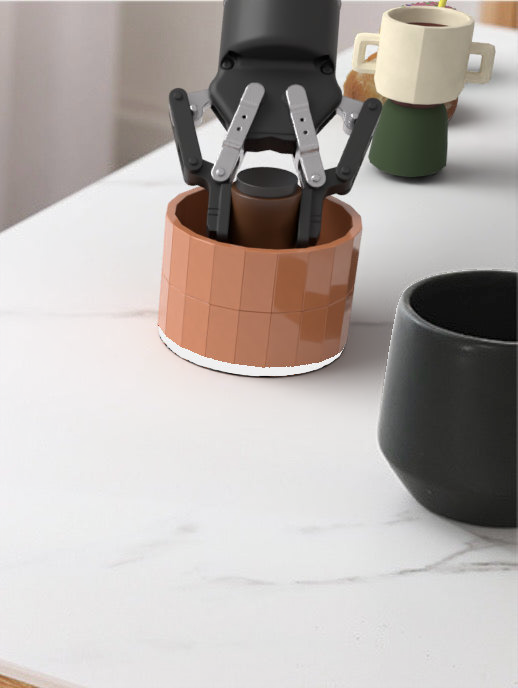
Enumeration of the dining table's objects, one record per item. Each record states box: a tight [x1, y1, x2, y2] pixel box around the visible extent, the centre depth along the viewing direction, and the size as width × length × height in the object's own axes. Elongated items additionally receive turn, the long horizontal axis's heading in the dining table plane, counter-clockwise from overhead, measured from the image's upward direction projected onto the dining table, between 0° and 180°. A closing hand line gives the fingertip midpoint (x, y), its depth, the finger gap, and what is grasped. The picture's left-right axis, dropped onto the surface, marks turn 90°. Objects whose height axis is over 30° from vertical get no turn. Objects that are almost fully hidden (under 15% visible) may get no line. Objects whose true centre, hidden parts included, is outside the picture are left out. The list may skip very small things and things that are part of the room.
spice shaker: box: [227, 166, 302, 250], centre depth 101 cm, size 4×4×8 cm
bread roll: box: [342, 51, 459, 121], centre depth 143 cm, size 10×10×8 cm
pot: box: [157, 181, 363, 368], centre depth 102 cm, size 12×12×8 cm
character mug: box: [351, 5, 496, 178], centre depth 128 cm, size 11×7×13 cm, turn 69°
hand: (261, 245), depth 99 cm, fingers closed on spice shaker, 4 cm apart
